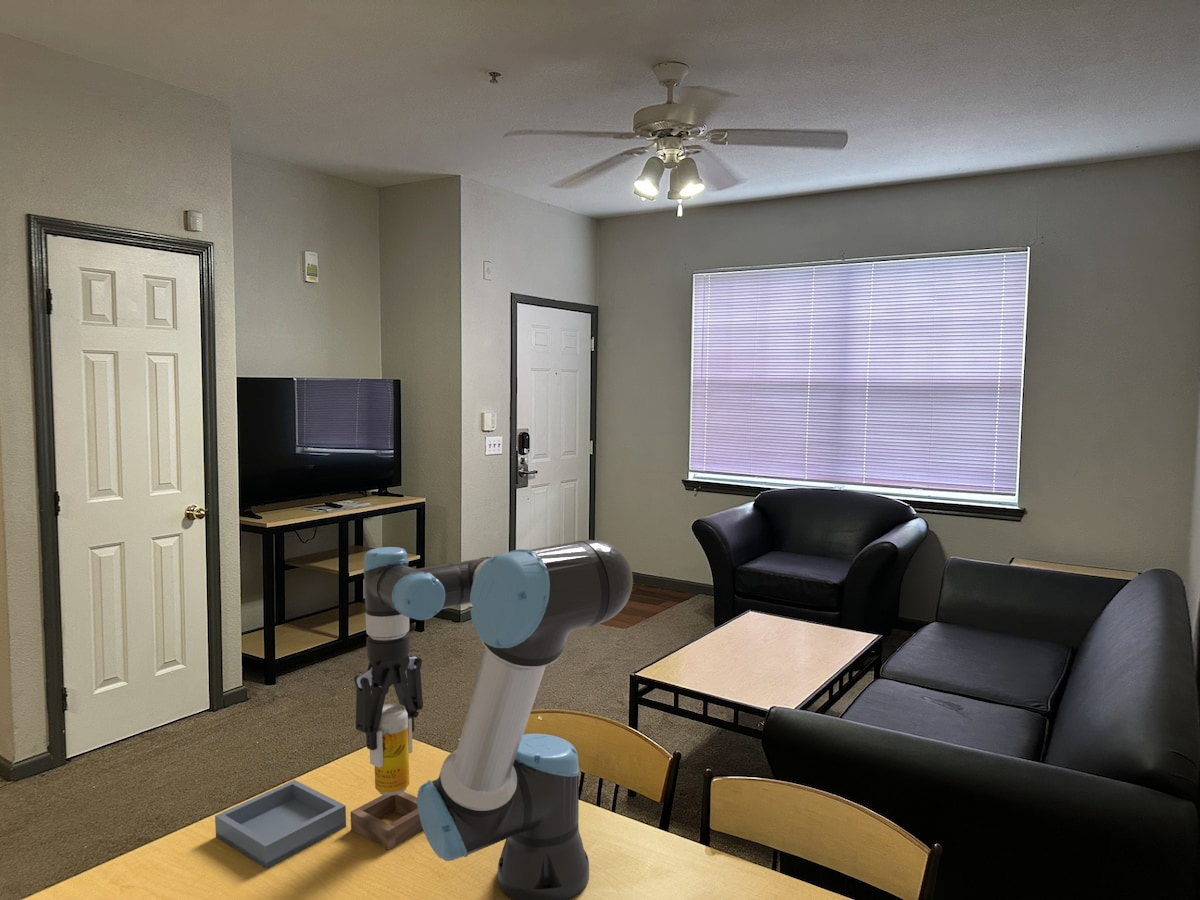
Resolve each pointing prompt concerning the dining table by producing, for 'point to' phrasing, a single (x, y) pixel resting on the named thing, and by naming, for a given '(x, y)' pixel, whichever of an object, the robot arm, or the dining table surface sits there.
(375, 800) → the collar holder
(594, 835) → the dining table surface
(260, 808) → the tray
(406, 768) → the beer can
